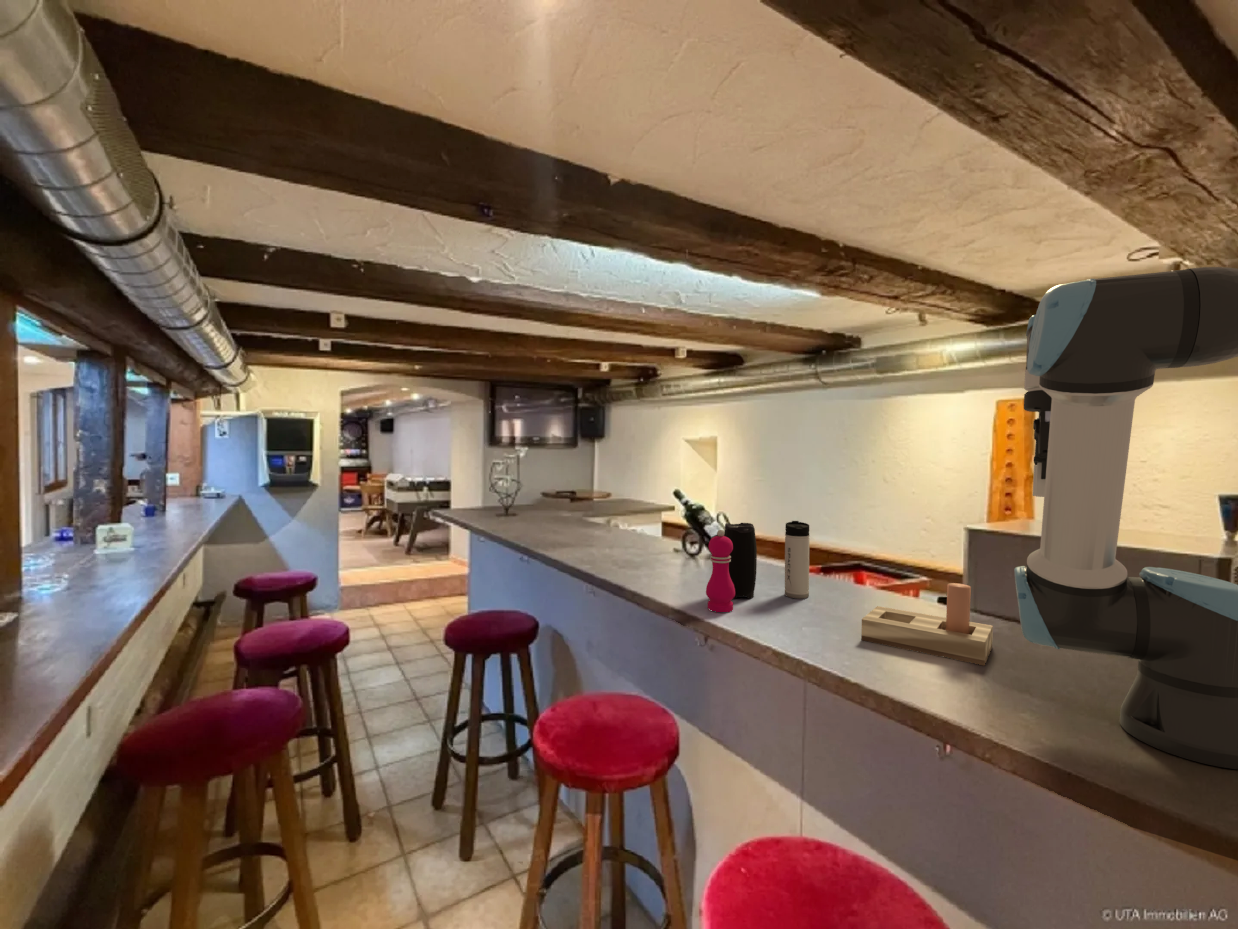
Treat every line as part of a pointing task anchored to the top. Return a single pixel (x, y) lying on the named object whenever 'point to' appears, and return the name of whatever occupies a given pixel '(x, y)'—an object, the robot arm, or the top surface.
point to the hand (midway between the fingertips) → (1042, 496)
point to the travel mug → (797, 560)
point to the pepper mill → (720, 575)
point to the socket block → (927, 635)
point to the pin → (958, 608)
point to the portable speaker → (742, 558)
